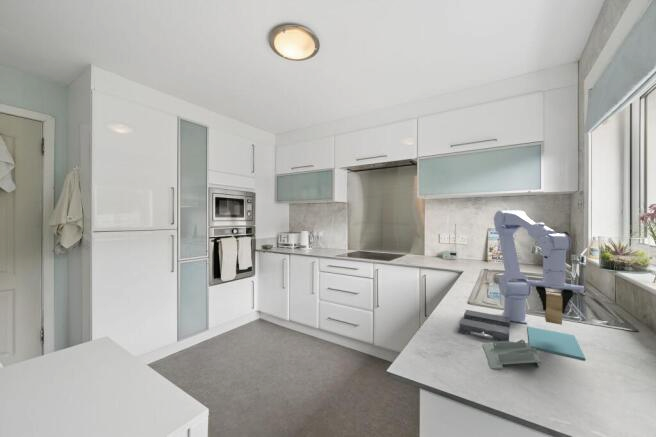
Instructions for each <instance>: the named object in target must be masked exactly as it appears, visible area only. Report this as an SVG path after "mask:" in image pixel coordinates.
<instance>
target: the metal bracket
mask: <svg viewBox="0 0 656 437" xmlns="http://www.w3.org/2000/svg"><path fill="white" fill-rule="evenodd" d="M481 347H482V349H483V350H484V353H485V355H486V359H487V361H488V362H487V364H488V367H489V369H491V370H498V369H504V366H503V365H514V364H515V365H516V364H517V365H518V364H527V363H530V364H531V363H535V364H536V366H537V368H540V366H539V363H542V361H541V359H540V358H539V356H538V349H536V348H531V346H530V345H529V343H528V342H525V340H524V339H520V340H518V341H511V340H509V341H495V342H493V343H492V342H485V343H482V344H481Z"/></svg>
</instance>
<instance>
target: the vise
mask: <svg viewBox="0 0 656 437" xmlns="http://www.w3.org/2000/svg"><path fill="white" fill-rule="evenodd" d="M458 325H459V327H458V334H464V335H465V334H470V335H473V336H475V337H476V336H477V337H482V338H485V339H490V340H496V341H499V342H502V341H510V332H511V331H510V330H511V329H510V327H511V326H510V325H511V321H510V318H509V317H504V316H503V315H497V314H491V313H486V312H481V311H475V310H470V309H469V310H468V309H465V311H464V313H463V318H461V319H460V321H459V323H458Z"/></svg>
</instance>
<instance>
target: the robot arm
mask: <svg viewBox="0 0 656 437" xmlns="http://www.w3.org/2000/svg"><path fill="white" fill-rule="evenodd" d="M493 224H494V227H495V231H496V232H497V234H498V235H497V236H498V238H499V244H500V250H501V251H500V252H501V254H502V255H501V256H502V261H503V262H502V263H503V266H504V273H503V274H502V275H500V276H499V278H498V280H499V283H498V289H499V292H500V293H501V295H502V296H504V298H503V312H502V316H504V317H509V318H510V322H516V323H521V324H528V318H527V314H526V311H527V309H526V308H527V307H526V306H527V304H526V302H527V300H526V299H529V296H531V294H532V290H533V289H532V288H533V287H534V288H536V292H537V294H538V295H539V298H540V300H541V303H542V310H543V311H545V310H546V292H547V290H546V289H548V290H549V289H550V290H556V291H557V290H558V291H559V290H560V292H561V293H560V294H561V295H562V297H563V298H562V314H565V311H566V308H567V305H568V304H569V302H570V300H572V298H573V296H574V293H579V294H585V286H584V285H577V284H572V283H566V264H567V263H566V261H567V255H566V254H567V252H568V251H569V250H570V248H571V247H572V240H571V238H570V236H569V235H568V234H566V233H565V232H564V233H563V232H561V233H558V232H556V231H555V230H554V229H551V228H550V227H548V226H547V225H546V223H544V222H535V221H533V220H532V219H530V217H529V216H527V213H526V212H525V211H523V210H501V209H500V210H497V211H496V212H495V214H494V217H493ZM521 228H522V229H523V230H524V229H525V230H526V231H527V234H528V236H529V237H531V238H532V239H533V240H535V241H536V242H538V246H539V248H540V250H541V251H540V252H541V253H540V254H541V255H542V256H543V259H542V280H536V279H535V280H534V279H529V278H528V276H527V275H525V274H523V273H522V272H521V268H520V264H519V259H518V254H517V248H516V244H515V243H516V242H515V237H514V234H515V233H517V232H518V231H520V229H521Z"/></svg>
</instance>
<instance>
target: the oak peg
mask: <svg viewBox="0 0 656 437" xmlns="http://www.w3.org/2000/svg"><path fill="white" fill-rule="evenodd" d="M562 298H563V297H562V295H561V293H556V292H549V291H546V310H544V319H545V323H549V324H556V325H561V326H562V325H563V313H562Z"/></svg>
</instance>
